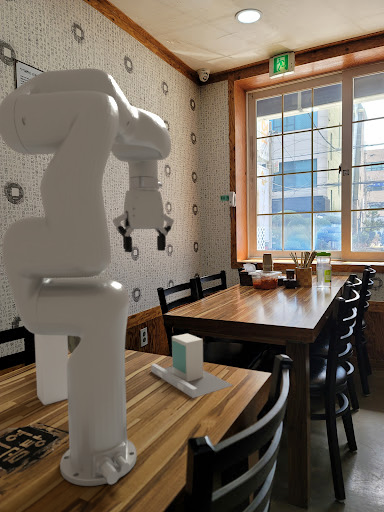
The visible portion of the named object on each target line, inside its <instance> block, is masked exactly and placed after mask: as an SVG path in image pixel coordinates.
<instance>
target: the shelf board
mask: <svg viewBox="0 0 384 512" xmlns="http://www.w3.org/2000/svg"><path fill="white" fill-rule="evenodd" d="M150 365H151V366H150V368H151V369H150V370H151V371H150V372H151V373H152V374H154V375H155V376H157V377H158V378H161V379H162V380H164V381H165V382H167V384H170V385H172V386H173V387H175V388H176V389H177V390H179V391H181V392H183V393H184V394H185V395H187V396H188V397H190V398H192V399H195V398H199V397H202V396H204V395H207V394H211V393H215V392H217V391H220V390H223V389H226V388H229V387H232V386H234V384H232V383H230V382H228V381H226V380H224V379H222V378H221V377H218V376H216V375H214V374H212V373H210V372H208V371H207V370H204V369H203V377H202V378H199V379H195V380H192V381H188V382H187V381H185V380H183V379H182V378H180V377H178V376H176V375H175V374H173V365H172V366H169V367H164V368H163V367H162V366H160V365H158V364H157V363H151V364H150Z"/></svg>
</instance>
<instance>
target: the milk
mask: <svg viewBox="0 0 384 512" xmlns="http://www.w3.org/2000/svg"><path fill="white" fill-rule="evenodd" d="M34 348H35V349H34V351H35V353H34V354H35V371H36V374H35V375H36V376H35V377H36V395H37V398H38V399H39V401H40V402H41V403H42V405H44V406H46V405H50V404H53V403H58V402H62V401H65V400H68V393H67V362H68V359H69V349H68V339H67V336H66V335H38V334H34Z"/></svg>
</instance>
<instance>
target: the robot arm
mask: <svg viewBox="0 0 384 512" xmlns="http://www.w3.org/2000/svg"><path fill="white" fill-rule="evenodd" d="M168 130H169V129H168V128H167V126H166V123H165V122H164V121H163V120H162V118H160V117H159V116H158V115H156V114H154V113H152V112H150V111H146V110H144V109H142V108H139V107H137V106H134V105H131V104H130V102H129V101H128V99H127V98H126V95H125V94H124V92H123V91H122V90H121V89H120V87H119V85H118V83H117V82H116V80H114V78H113V77H112V75H110V74H109V73H107V72H106V71H105V70H102V69H99V68H74V69H73V68H72V69H59V70H57V69H56V70H49V71H47V70H46V71H44V72H41V73H39V74H36V75H35V76H33V77H32V78H30V79H28V80H26V81H25V82H24V83H22V84H21V85H20V86H18V87H17V88H16V89H14V90H12V91H11V92H10V93H8V94H7V95H6V96H5V97H4V98H3V99H2V101H1V102H0V136H1V139H2V140H3V141H4V144H6V146H7V147H8V148H9V149H10V150H12V151H14V152H16V153H18V154H21V155H26V156H27V155H28V156H30V155H33V156H34V155H35V156H36V155H53V157H52V158H51V159H50V161H49V163H48V165H47V166H46V168H45V169H44V173H43V175H42V177H41V181H40V185H39V189H40V191H39V192H40V197H41V201H42V207H43V211H44V216H31V217H24V218H20V219H18V220H15V221H13V222H12V223H11V224H10V225H9V226H8V228H7V229H6V230H5V232H4V235H3V239H2V246H1V252H2V253H1V257H2V262H3V266H4V271H5V273H6V277H7V280H8V284H9V287H10V290H11V293H12V296H13V301H14V304H15V305H16V310H17V313H18V315H19V319H20V321H21V323H22V325H23V326H24V328H25V329H26V330H28V332H30V333H32V334H34V335H35V334H38V335H66V336H78V337H80V338H81V341H80V343H79V345H78V346H77V347H76V348H75V350H74V351H73V352H72V353H70V356H68V362H67V393H68V399H67V415H68V419H67V421H68V436H69V437H68V442H69V449H67V450H66V452H64V453H63V455H62V457H61V458H60V466H59V467H60V468H59V469H60V473H61V476H62V477H63V479H64V480H66V481H67V482H68V483H71V484H74V485H77V486H84V487H93V486H95V487H96V486H101V485H104V484H108V485H113V484H116V483H117V482H118V480H120V478H122V477H124V476H125V475H127V474H128V473H129V472H131V470H132V469H133V468H134V466H135V464H136V463H137V447H136V446H135V445H134V443H133V442H132V441H131V440H129V439H128V424H127V423H128V422H127V420H128V419H127V391H126V388H127V387H126V385H127V384H126V334H127V333H126V332H127V324H128V316H129V308H130V297H129V293H128V290H127V289H126V288H125V286H124V285H123V283H121V282H119V281H116V280H114V279H109V278H105V277H103V278H102V277H101V278H100V277H95V276H99V275H103V274H104V273H105V272H106V271H107V269H109V267H110V264H111V259H112V249H111V241H110V234H109V228H108V227H109V226H108V220H107V213H106V208H105V203H104V202H105V201H104V195H103V177H104V173H105V169H106V165H107V163H108V159H109V156H110V155H111V153H112V155H113V156H114V157H115V159H117V160H119V161H120V162H124V163H128V185H129V186H128V188H129V190H125V197H124V201H123V202H124V203H123V213H122V214H120V215H118V216H117V217H115V218H113V219H112V223H113V224H114V227H115V230H116V231H117V232H118V233H119V234H120V236H121V237H122V245H123V249H124V252H125V253H132V252H133V238H132V236H131V234H132V233H133V231H135V230H155V232H156V233H157V234H158V235H157V236H156V247H157V249H156V250H157V251H161V252H162V251H164V252H165V251H166V246H167V244H166V243H167V240H166V237H167V236H168V234H169V232H170V231H171V230H172V227H173V224H174V222H175V220H174V219H173V218H172V217H170V216H168V215H167V214H165V213H164V204H163V203H164V202H163V198H162V194H161V191H160V190H159V189H162V187H163V184H162V182H159V181H160V180H159V171H158V169H159V167H158V161H163V160H166V159H167V158H168V157H169V156H170V154H171V150H172V141H171V140H172V139H171V137H170V133H169V131H168ZM122 221H123V226H122ZM165 223H166V224H165Z"/></svg>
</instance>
